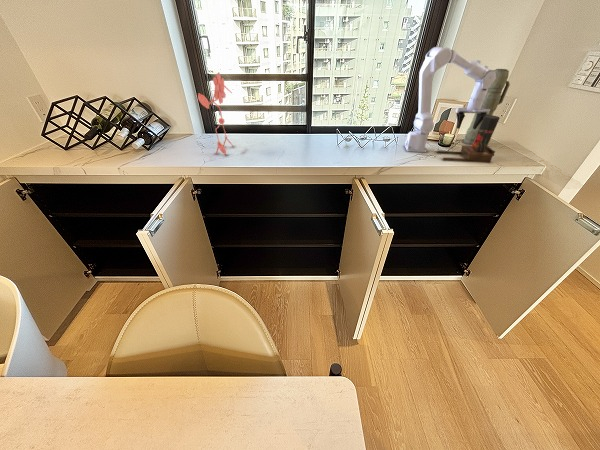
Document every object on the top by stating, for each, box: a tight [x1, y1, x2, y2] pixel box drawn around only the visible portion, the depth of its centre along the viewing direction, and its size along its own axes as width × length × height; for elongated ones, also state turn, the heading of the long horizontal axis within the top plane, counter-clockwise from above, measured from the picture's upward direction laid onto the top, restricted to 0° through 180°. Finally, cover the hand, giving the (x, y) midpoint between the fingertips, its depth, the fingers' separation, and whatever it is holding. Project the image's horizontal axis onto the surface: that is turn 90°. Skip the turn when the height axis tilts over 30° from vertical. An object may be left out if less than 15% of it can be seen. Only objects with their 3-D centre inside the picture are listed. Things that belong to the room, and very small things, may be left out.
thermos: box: [463, 68, 511, 146], centre depth 132 cm, size 9×12×35 cm
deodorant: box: [471, 114, 501, 152], centre depth 118 cm, size 6×6×15 cm
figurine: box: [197, 72, 248, 159], centre depth 122 cm, size 15×26×35 cm, turn 172°
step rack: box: [436, 145, 496, 163], centre depth 124 cm, size 21×10×5 cm, turn 82°
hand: (465, 128), depth 129 cm, fingers open, 7 cm apart
